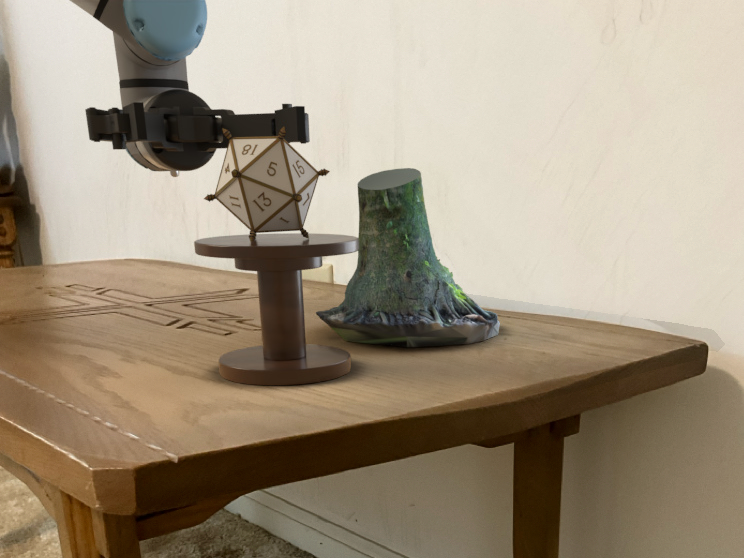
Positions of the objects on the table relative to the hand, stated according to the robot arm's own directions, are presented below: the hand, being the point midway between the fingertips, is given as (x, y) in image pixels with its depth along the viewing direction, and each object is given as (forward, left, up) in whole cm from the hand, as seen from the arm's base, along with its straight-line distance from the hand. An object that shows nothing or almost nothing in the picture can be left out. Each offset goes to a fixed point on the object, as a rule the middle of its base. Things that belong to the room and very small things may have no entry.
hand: (223, 122), depth 71 cm
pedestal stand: (+9, 0, -19) cm, 21 cm away
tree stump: (+1, +18, -19) cm, 27 cm away
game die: (+9, -1, -9) cm, 13 cm away
